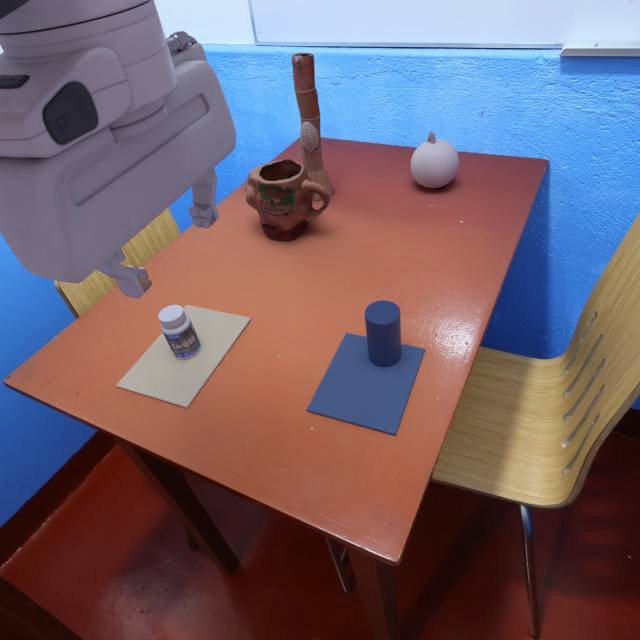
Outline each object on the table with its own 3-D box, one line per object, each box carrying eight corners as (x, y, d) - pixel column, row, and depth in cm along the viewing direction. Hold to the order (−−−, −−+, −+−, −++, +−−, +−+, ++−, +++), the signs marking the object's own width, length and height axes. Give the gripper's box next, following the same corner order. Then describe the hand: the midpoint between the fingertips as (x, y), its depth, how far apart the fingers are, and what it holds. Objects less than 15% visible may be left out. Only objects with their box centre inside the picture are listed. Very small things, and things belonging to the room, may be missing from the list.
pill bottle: (178, 364, 77) (159, 327, 71) (170, 347, 80) (152, 310, 74) (205, 351, 78) (189, 314, 72) (196, 335, 81) (180, 298, 75)
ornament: (402, 189, 109) (401, 138, 101) (427, 170, 114) (428, 120, 106) (441, 200, 103) (443, 147, 95) (465, 180, 108) (469, 128, 100)
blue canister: (395, 370, 70) (394, 327, 63) (364, 363, 71) (359, 320, 65) (405, 346, 73) (404, 303, 67) (374, 340, 75) (371, 297, 68)
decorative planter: (345, 219, 103) (339, 158, 93) (325, 251, 95) (315, 188, 86) (266, 211, 110) (252, 154, 101) (240, 240, 102) (223, 181, 93)
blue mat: (395, 435, 62) (395, 434, 62) (306, 411, 67) (306, 409, 67) (425, 350, 72) (425, 348, 72) (346, 334, 77) (346, 332, 77)
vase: (323, 204, 109) (302, 62, 89) (295, 200, 112) (270, 62, 92) (342, 182, 115) (327, 45, 95) (316, 179, 118) (296, 46, 98)
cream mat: (187, 408, 70) (186, 407, 70) (116, 387, 75) (115, 385, 75) (251, 319, 83) (251, 317, 83) (187, 306, 88) (186, 304, 88)
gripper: (160, 25, 36) (212, 189, 46) (-88, 136, 23) (55, 332, 33) (229, 21, 34) (268, 194, 43) (-4, 140, 21) (124, 351, 30)
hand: (175, 255), depth 38 cm, fingers open, 8 cm apart
